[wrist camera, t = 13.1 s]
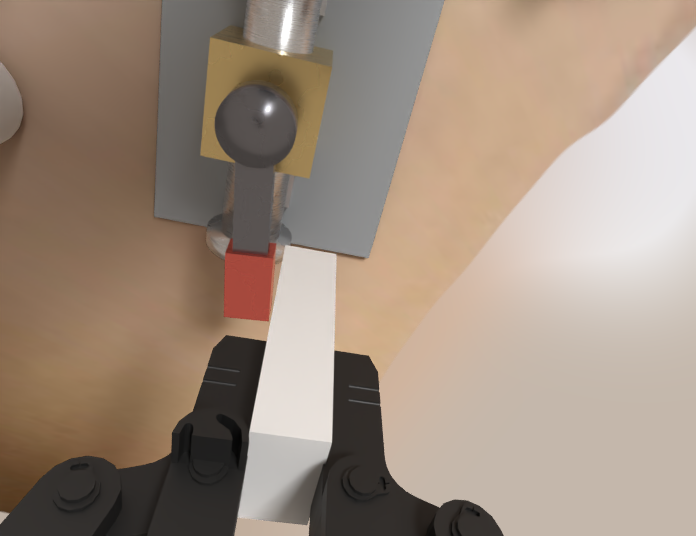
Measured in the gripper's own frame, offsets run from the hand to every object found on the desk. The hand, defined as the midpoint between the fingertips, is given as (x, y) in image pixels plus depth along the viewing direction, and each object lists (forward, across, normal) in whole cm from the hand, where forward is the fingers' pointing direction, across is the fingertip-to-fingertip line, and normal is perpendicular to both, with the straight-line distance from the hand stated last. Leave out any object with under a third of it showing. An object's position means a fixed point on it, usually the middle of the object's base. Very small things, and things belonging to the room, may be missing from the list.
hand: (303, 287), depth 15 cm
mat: (+25, -3, -1) cm, 25 cm away
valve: (+25, -4, -1) cm, 25 cm away
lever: (+17, -3, -6) cm, 18 cm away
